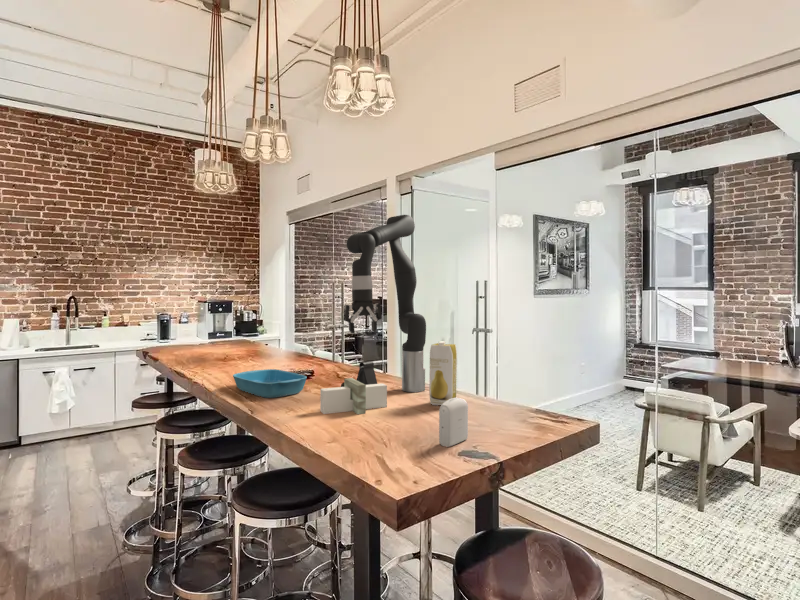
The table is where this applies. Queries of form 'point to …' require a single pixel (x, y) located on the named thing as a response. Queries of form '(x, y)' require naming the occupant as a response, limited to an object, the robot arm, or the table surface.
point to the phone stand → (367, 373)
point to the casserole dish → (270, 382)
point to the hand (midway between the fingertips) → (363, 332)
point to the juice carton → (442, 372)
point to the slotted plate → (357, 395)
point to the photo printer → (453, 422)
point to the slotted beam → (341, 401)
